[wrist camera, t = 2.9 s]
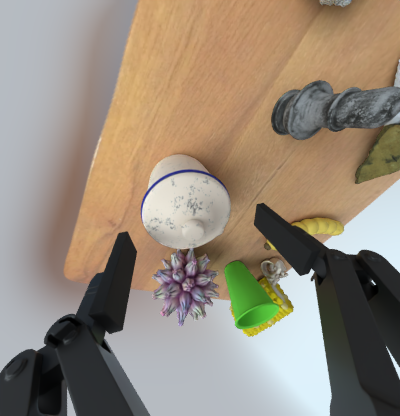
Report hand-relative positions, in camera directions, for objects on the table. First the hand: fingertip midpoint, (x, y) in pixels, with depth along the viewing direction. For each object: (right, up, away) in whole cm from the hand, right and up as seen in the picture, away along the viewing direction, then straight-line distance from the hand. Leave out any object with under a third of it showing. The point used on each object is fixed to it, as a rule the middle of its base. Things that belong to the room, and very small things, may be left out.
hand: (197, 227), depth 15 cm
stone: (+31, +12, +13) cm, 35 cm away
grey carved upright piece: (+13, +15, +5) cm, 21 cm away
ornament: (+19, -14, +24) cm, 34 cm away
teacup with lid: (-2, +5, +8) cm, 10 cm away
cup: (+9, -13, +22) cm, 27 cm away
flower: (-3, -8, +16) cm, 18 cm away
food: (+13, -22, +23) cm, 34 cm away
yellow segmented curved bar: (+24, -2, +19) cm, 30 cm away
